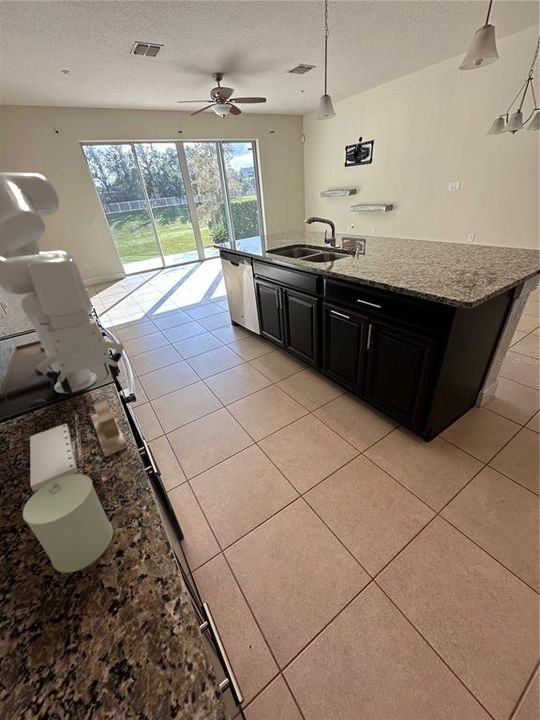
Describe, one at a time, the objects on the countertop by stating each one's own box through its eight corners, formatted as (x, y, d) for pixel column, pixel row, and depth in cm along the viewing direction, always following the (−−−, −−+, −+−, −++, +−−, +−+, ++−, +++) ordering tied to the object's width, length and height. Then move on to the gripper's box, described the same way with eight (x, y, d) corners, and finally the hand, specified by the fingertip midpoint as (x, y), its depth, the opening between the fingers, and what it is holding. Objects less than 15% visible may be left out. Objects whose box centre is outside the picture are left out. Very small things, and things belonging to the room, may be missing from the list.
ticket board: (32, 441, 77) (30, 436, 76) (68, 427, 81) (66, 423, 80) (33, 491, 62) (30, 486, 61) (77, 472, 66) (74, 466, 65)
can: (103, 509, 57) (82, 462, 52) (121, 543, 51) (99, 493, 46) (46, 544, 51) (16, 495, 46) (59, 586, 45) (25, 535, 40)
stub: (92, 420, 83) (84, 400, 80) (112, 413, 86) (105, 393, 83) (104, 456, 70) (96, 434, 67) (127, 446, 72) (120, 425, 69)
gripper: (19, 334, 57) (52, 407, 65) (116, 313, 66) (135, 380, 74) (19, 323, 63) (50, 392, 71) (109, 306, 72) (127, 368, 80)
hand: (93, 386), depth 72 cm, fingers open, 9 cm apart
